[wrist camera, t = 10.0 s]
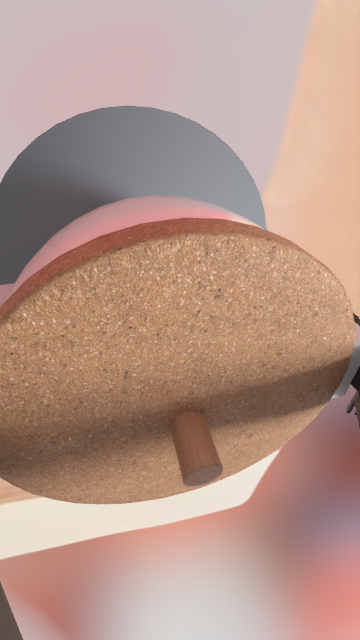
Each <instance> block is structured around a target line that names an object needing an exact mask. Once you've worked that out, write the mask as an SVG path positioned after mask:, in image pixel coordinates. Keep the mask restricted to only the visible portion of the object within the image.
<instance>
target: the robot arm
mask: <svg viewBox="0 0 360 640" xmlns="http://www.w3.org/2000/svg"><path fill="white" fill-rule="evenodd" d="M14 284H15V283H13V284H5V285H0V306H1V305H2V304H3V303H4V301H5V299H6V297H7V296H8V294H9V292H10V290H11V288H12V287H13V285H14ZM353 317H354V324H355V339H354V349H353V353H352V356H351V360H350V364H349V367H348V369H347V371H346V373H345V375H344V377H343V379H342V381H341V383H340V385H339V387H338V388H337V390H336V391H335V393H334V394H333V396H332V398H334V397H338V396H342V395H345V393H346V391H347V390H348V388H349V386H350V384H351V385H352V386H353V387H354V388H355V389H356V390H357V392H356V394H355V395H354V397H353V399H352V400H351V402H350V404H349V405H348V407H347V413H350V412H351V411H352V409H353V407H354V406H355V407H356V413H355V415H357V417H358V422H359V427H360V319H359V317H358V316H356V315H355V314H354V313H353ZM0 640H23V638H22V636H21V634H20V631H19V628H18V626H17V623H16V621H15V618H14V616H13V613H12V611H11V608H10V606H9V603H8V601H7V598H6V595H5V593H4V590H3V588H2V585H1V583H0Z"/></svg>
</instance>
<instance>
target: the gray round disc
mask: <svg viewBox="0 0 360 640" xmlns="http://www.w3.org/2000/svg"><path fill="white" fill-rule="evenodd" d="M150 195H160V196H181V197H187V198H192V199H196V200H200V201H205V202H209V203H212V204H214V205H217V206H220V207H222V208H225V209H227V210H229V211H232V212H234V213H236V214H239V215H241V216H243V217H245V218H247V219H249V220H250V221H252V222H254V223H255V224H257V225H259V226H260V227H262V228H263V229H265V230H266V221H265V213H264V208H263V205H262V201H261V198H260V194H259V192H258V190H257V187H256V185H255V183H254V180H253V178H252V176H251V175H250V173H249V172H248V170H247V168H246V167H245V165H244V163H243V162H242V161H241V160H240V158H239V157H238V156H237V155H236V154H235V153H234V151H233V150H232V149H231V148H230V147H229V146H228V145H227V144H226V143H225V142H223V141H222V140H221V139H220V138H219V137H218V136H216V135H215V134H214V133H213V132H211V131H209V130H208V129H206V128H204V127H203V126H201V125H200V124H198V123H196V122H194V121H192V120H190V119H187V118H184V117H182V116H180V115H177V114H175V113H171V112H167V111H163V110H159V109H155V108H149V107H136V106H120V107H109V108H101V109H97V110H93V111H90V112H86V113H82V114H79V115H76V116H74V117H72V118H70V119H68V120H66V121H63V122H61V123H59V124H57V125H55V126H54V127H52V128H51V129H49V130H48V131H46V132H45V133H43V134H42V135H40V136H39V137H37V138H36V139H35V140H34V141H33V142H32V143H31V144H30V145H29V146H28V147H27V148H26V149H25V150H23V151H22V152H21V153H20V154H19V155H18V157H17V158H16V160H15V161H14V162H13V164H12V165H11V167H10V168H9V169H8V171H7V172H6V174H5V176H4V177H3V180H2V182H1V183H0V285H5V284H13V283H15V282H16V280H17V279H18V277H19V276H20V274H21V272H22V271H23V269H24V268H25V266H26V265H27V264H28V263H29V261H30V260H31V259H32V258H33V257H34V255H35V254H36V253H37V252H38V251H39V250H40V249H41V248H42V247H43V246H44V245H45V244H46V243H47V242H48V241H49V239H50V238H51V237H52V236H53V235H55V234H56V233H57V232H59V231H60V230H62V229H63V228H64V227H66V226H67V225H68V224H70V223H71V222H73V221H74V220H75V219H77V218H79V217H80V216H82V215H84V214H86V213H88V212H91V211H93V210H95V209H97V208H99V207H101V206H103V205H106V204H109V203H113V202H116V201H119V200H123V199H126V198H133V197H141V196H150Z"/></svg>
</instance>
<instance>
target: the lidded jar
mask: <svg viewBox="0 0 360 640" xmlns="http://www.w3.org/2000/svg"><path fill="white" fill-rule="evenodd" d="M354 339H355V324H354V317H353V311H352V305H351V303H350V301H349V298H348V296H347V294H346V291H345V289H344V287H343V285H342V284H341V283H340V282H339V280H338V279H337V278H336V277H335V275H334V274H333V273H332V272H331V270H330V269H329V268H328V267H327V266H325V265H324V264H323V263H321V262H320V261H318V260H317V259H316V258H314V257H313V256H312V255H310V254H309V253H307V252H306V251H305V250H303V249H302V248H300V247H299V246H298V245H296V244H295V243H293V242H291V241H290V240H288V239H286V238H283V237H281V236H279V235H276V234H274V233H272V232H269V231H267V230H265V229H263V228H262V227H260V226H259V225H257V224H255V223H254V222H252V221H250V220H249V219H247V218H245V217H243V216H241V215H239V214H236V213H234V212H232V211H229V210H227V209H225V208H222V207H220V206H217V205H214V204H212V203H209V202H205V201H200V200H196V199H192V198H187V197H181V196H160V195H150V196H141V197H133V198H126V199H123V200H119V201H116V202H113V203H109V204H106V205H103V206H101V207H99V208H97V209H95V210H93V211H91V212H88V213H86V214H84V215H82V216H80V217H79V218H77V219H75V220H74V221H73V222H71V223H70V224H68V225H67V226H66V227H64V228H63V229H62V230H60V231H59V232H57V233H56V234H55V235H53V236H52V237H51V238H50V239H49V241H48V242H47V243H46V244H45V245H44V246H43V247H42V248H41V249H40V250H39V251H38V252H37V253H36V254H35V255H34V257H33V258H32V259H31V260H30V261H29V263H28V264H27V265H26V266H25V268H24V269H23V271H22V272H21V274H20V276H19V277H18V279H17V280H16V282H15V284H14V285H13V287H12V288H11V290H10V292H9V294H8V296H7V297H6V299H5V301H4V303H3V304H2V305H1V306H0V477H1V478H2V479H4V480H6V481H7V482H9V483H11V484H12V485H14V486H16V487H18V488H21V489H23V490H25V491H28V492H30V493H32V494H35V495H39V496H43V497H47V498H51V499H54V500H60V501H66V502H72V503H84V504H123V503H132V502H141V501H147V500H154V499H161V498H165V497H169V496H173V495H177V494H181V493H184V492H188V491H191V490H195V489H198V488H201V487H204V486H206V485H209V484H212V483H214V482H217V481H219V480H222V479H224V478H226V477H229V476H231V475H233V474H236V473H238V472H240V471H242V470H243V469H245V468H247V467H249V466H251V465H253V464H255V463H256V462H258V461H260V460H261V459H263V458H265V457H266V456H268V455H270V454H272V453H273V452H274V451H276V450H277V449H278V448H280V447H281V446H282V445H284V444H285V443H287V442H288V441H289V440H290V439H292V438H293V437H294V436H295V435H297V434H298V433H299V432H300V431H301V430H303V429H304V428H305V427H306V426H307V425H308V424H309V423H310V422H311V421H312V420H313V419H314V418H315V417H316V416H317V415H318V414H319V412H320V411H321V410H322V409H323V408H324V406H325V405H326V404H327V403H328V402H329V401H330V399H331V398H332V396H333V394H334V393H335V391H336V390H337V388H338V387H339V385H340V383H341V381H342V379H343V377H344V375H345V373H346V371H347V369H348V367H349V364H350V360H351V356H352V353H353V349H354Z"/></svg>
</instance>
